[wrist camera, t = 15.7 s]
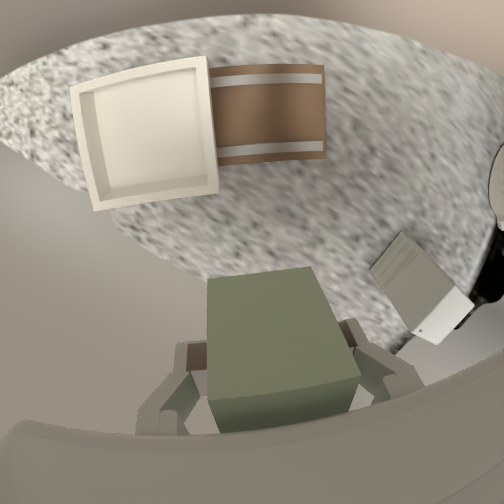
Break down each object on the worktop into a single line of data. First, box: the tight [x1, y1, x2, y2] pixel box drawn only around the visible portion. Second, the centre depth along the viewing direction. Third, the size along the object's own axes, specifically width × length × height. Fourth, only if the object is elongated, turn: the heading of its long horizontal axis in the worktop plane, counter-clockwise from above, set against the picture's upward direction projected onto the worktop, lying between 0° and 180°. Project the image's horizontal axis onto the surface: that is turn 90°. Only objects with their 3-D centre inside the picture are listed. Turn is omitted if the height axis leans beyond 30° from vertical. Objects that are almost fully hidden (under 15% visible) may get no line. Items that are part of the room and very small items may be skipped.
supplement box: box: [369, 232, 474, 345], centre depth 33 cm, size 7×7×13 cm
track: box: [209, 64, 326, 166], centre depth 26 cm, size 22×10×1 cm, turn 94°
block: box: [207, 267, 361, 433], centre depth 11 cm, size 4×4×6 cm
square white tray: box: [69, 56, 220, 211], centre depth 23 cm, size 11×11×6 cm
